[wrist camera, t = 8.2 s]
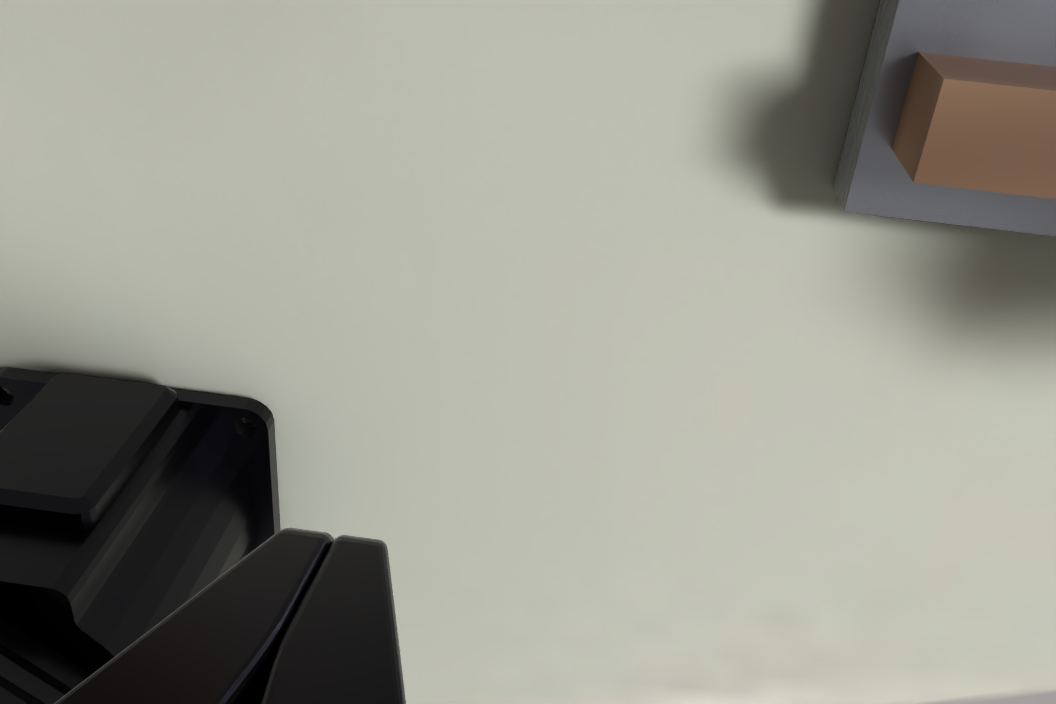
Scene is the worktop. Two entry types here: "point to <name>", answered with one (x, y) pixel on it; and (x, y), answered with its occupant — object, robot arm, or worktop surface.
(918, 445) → the worktop surface
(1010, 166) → the beam
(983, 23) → the plate
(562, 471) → the worktop surface
